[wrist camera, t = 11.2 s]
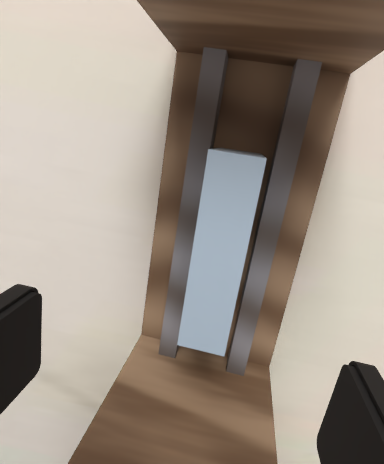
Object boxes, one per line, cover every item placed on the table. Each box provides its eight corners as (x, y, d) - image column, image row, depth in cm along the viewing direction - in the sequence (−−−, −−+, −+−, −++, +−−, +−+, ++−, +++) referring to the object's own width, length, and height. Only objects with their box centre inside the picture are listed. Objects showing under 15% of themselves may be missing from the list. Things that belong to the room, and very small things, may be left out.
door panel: (231, 296, 27) (224, 356, 19) (197, 288, 27) (177, 345, 20) (261, 153, 23) (266, 158, 16) (221, 147, 24) (208, 149, 16)
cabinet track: (261, 381, 30) (271, 605, 16) (143, 351, 32) (51, 529, 17) (356, 30, 21) (587, -214, 7) (187, 11, 23) (75, -224, 8)
